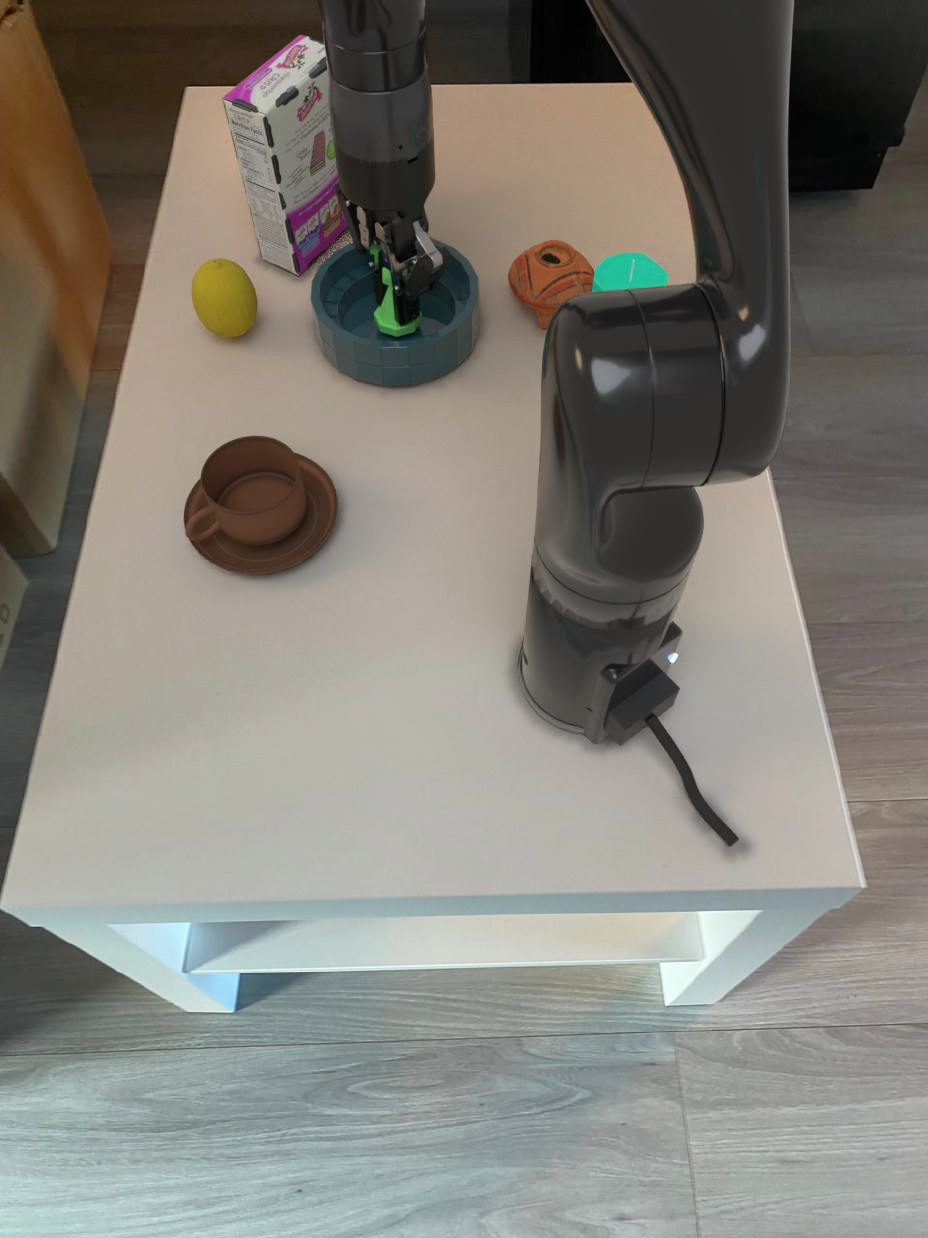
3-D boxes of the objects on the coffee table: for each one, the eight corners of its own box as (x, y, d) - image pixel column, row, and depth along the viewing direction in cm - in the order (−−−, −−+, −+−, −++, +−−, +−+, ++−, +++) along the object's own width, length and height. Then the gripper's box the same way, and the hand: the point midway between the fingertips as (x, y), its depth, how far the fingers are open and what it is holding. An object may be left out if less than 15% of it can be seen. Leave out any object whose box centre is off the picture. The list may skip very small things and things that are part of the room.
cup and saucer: (282, 609, 72) (267, 563, 66) (158, 545, 75) (134, 496, 70) (369, 499, 77) (361, 449, 72) (250, 443, 80) (234, 391, 75)
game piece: (400, 296, 87) (395, 240, 82) (431, 319, 86) (429, 264, 81) (364, 319, 86) (357, 264, 81) (396, 343, 84) (391, 288, 79)
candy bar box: (325, 198, 97) (300, 30, 83) (365, 214, 95) (347, 46, 81) (257, 261, 92) (218, 94, 78) (298, 279, 91) (266, 112, 77)
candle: (610, 408, 82) (630, 297, 72) (566, 368, 84) (579, 254, 74) (662, 378, 84) (688, 265, 73) (617, 339, 86) (637, 224, 76)
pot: (486, 315, 87) (495, 244, 83) (532, 286, 92) (544, 217, 87) (558, 349, 85) (573, 278, 80) (602, 318, 89) (618, 249, 85)
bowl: (510, 341, 86) (512, 297, 82) (379, 415, 82) (374, 373, 77) (415, 257, 92) (413, 212, 88) (288, 322, 88) (278, 277, 83)
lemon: (254, 359, 85) (235, 287, 78) (195, 351, 86) (171, 278, 79) (272, 317, 88) (255, 244, 81) (216, 309, 89) (194, 236, 82)
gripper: (289, 101, 72) (320, 287, 87) (395, 192, 66) (409, 374, 81) (371, 66, 74) (387, 253, 89) (480, 152, 68) (479, 336, 83)
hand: (398, 310), depth 85 cm, fingers closed on game piece, 2 cm apart
